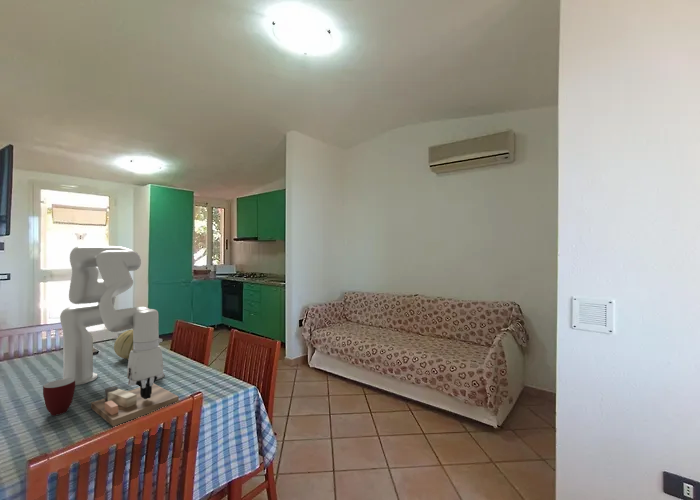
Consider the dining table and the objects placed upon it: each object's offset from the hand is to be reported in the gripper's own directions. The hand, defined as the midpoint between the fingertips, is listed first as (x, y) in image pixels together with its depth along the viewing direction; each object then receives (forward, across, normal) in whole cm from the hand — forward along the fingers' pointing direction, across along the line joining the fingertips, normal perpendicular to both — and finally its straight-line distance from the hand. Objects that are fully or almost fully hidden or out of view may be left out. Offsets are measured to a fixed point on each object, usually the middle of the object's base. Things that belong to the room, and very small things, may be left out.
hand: (146, 397), depth 113 cm
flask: (+3, -13, -25) cm, 28 cm away
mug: (+3, +19, -20) cm, 28 cm away
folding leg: (+1, +6, -6) cm, 8 cm away
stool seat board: (+3, +2, -4) cm, 5 cm away
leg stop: (+1, +10, -1) cm, 10 cm away
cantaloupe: (+3, -19, -62) cm, 65 cm away
